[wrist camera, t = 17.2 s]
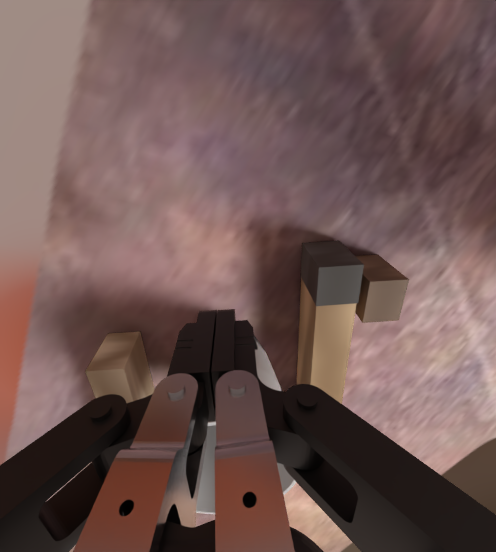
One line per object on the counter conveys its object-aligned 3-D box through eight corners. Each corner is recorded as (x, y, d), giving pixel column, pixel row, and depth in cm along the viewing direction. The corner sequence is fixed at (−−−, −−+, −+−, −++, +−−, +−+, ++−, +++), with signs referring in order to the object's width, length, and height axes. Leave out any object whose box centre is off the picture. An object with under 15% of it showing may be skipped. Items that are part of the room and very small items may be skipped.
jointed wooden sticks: (377, 254, 21) (408, 279, 17) (347, 419, 29) (363, 459, 25) (88, 270, 20) (57, 300, 16) (139, 436, 28) (126, 480, 24)
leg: (338, 240, 20) (369, 269, 16) (322, 403, 27) (339, 453, 23) (302, 242, 20) (322, 273, 16) (295, 405, 27) (307, 456, 23)
